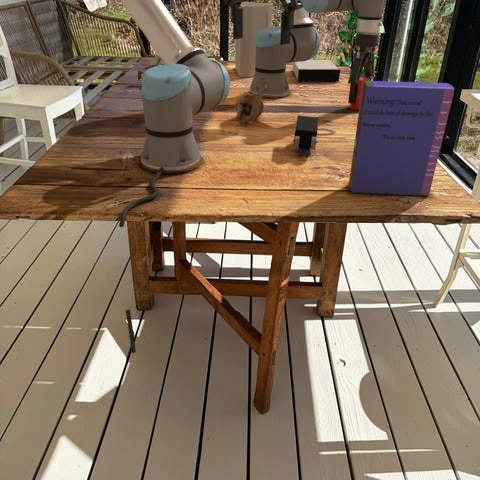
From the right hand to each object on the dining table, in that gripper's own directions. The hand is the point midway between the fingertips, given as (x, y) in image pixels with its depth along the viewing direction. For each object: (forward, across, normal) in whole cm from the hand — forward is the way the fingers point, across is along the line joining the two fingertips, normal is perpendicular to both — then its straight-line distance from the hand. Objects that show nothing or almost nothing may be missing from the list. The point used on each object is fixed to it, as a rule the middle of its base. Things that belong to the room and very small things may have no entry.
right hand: (358, 99), depth 168 cm
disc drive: (+3, +38, +34) cm, 51 cm away
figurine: (+3, -9, +75) cm, 75 cm away
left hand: (-26, -64, +4) cm, 69 cm away
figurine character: (+3, -48, -2) cm, 49 cm away
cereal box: (+3, -62, -30) cm, 69 cm away
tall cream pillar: (+3, +29, +60) cm, 67 cm away
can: (+3, 0, 0) cm, 3 cm away
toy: (+3, +21, +92) cm, 94 cm away
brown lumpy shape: (+3, -35, +24) cm, 43 cm away
